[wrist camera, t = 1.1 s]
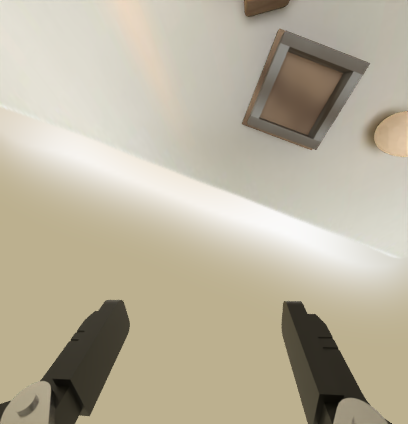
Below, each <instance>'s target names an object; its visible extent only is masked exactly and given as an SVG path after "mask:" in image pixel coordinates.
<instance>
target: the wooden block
mask: <svg viewBox="0 0 408 424" xmlns="http://www.w3.org/2000/svg"><path fill="white" fill-rule="evenodd" d="M289 1H290V0H244V8H245V14H246V16H252V15H256V14H259V13H263V12H267V11H270V10H274V9H278V8H281V7H285V6H286V5H287V4H288V3H289Z"/></svg>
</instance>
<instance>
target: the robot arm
mask: <svg viewBox="0 0 408 424" xmlns="http://www.w3.org/2000/svg"><path fill="white" fill-rule="evenodd" d="M129 327H130V323H129V318H128V315H127V311H126V309H125V305H124V302H123V301H122V300H107V301H105V302H104V304H103V305H102V306H101V308H100V310H99V311H95V312H94V313H93V314H91V315H90V316H89V317H88V318H87V319H86V320H85V321H84V322H83V323H82V325H81V326H80V327H79V329H78V330H77V333H75V334H74V336H73V337H72V339H71V341H70V342H69V343H68V344H67V345H66V347H65V348H64V350H63V351H62V352H61V353H60V355H59V356H58V358H57V359H56V361H55V362H54V363H53V364H52V366H51V367H50V369H49V370H48V371H47V373H46V374H45V376H44V377H43V378H42V379H41V380H40V382H36V383H33V384H31V385H29V386H28V387H26V388H25V389H23V390H22V391H21V392H20V393H18V394H17V395H16V396H15V397H14V398H13V400H12V401H8V402H5V403H3V404H0V424H75V422H76V420H77V418H78V416H79V415H82V416H90V414H91V412H92V410H93V408H94V406H95V403H96V401H97V399H98V397H99V395H100V393H101V390H102V388H103V386H104V384H105V382H106V380H107V377H108V375H109V373H110V371H111V369H112V367H113V365H114V363H115V361H116V358H117V356H118V354H119V352H120V350H121V348H122V345H123V343H124V341H125V339H126V337H127V335H128V332H129ZM282 334H283V339H284V342H285V346H286V349H287V353H288V356H289V359H290V363H291V366H292V370H293V373H294V377H295V380H296V384H297V387H298V391H299V394H300V398H301V401H302V405H303V408H304V412H305V415H306V418H307V422H308V424H392V423H390V422H389V421H387V420H386V419H384V418H383V417H382V416H381V414H380V413H379V412H378V411H376V410H375V409H374V408H373V407H372V406H371V405H370V404H369V403H368V402H367V401H366V399H365V397H364V396H363V394H362V392H361V390H360V388H359V386H358V385H357V383H356V381H355V379H354V377H353V375H352V373H351V372H350V369H349V368H348V366H347V364H346V362H345V360H344V358H343V356H342V354H341V352H340V351H339V350H338V347H337V345H336V343H335V341H334V340H333V338H332V335H331V333H330V331H329V330H328V328H327V326H326V324H325V323H324V322H323V321H322V320H321V319H320V318H319V317H318V316H317V315H316V314H307V312H306V310H305V308H304V305H303V304H302V302H301V301H297V302H296V301H291V302H290V301H284V303H283V313H282Z"/></svg>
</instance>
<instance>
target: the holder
mask: <svg viewBox="0 0 408 424" xmlns="http://www.w3.org/2000/svg"><path fill="white" fill-rule="evenodd" d="M369 64H370V63H368V62H366V61H363V60H360V59H358V58H355V57H353V56H350V55H348V54H345V53H342V52H340V51H337V50H335V49H332V48H329V47H327V46H324V45H322V44H319V43H317V42H314V41H311V40H309V39H306V38H304V37H301V36H299V35H296V34H293V33H291V32H288V31H284V30H282V29H279V30H278V32H277V35H276V38H275V40H274V43H273V45H272V48H271V50H270V53H269V56H268V58H267V61H266V63H265V66H264V68H263V71H262V74H261V76H260V79H259V81H258V84H257V86H256V89H255V92H254V94H253V97H252V99H251V102H250V104H249V107H248V109H247V112H246V115H245V117H244V120H243V122H242V124H243V125H246V126H248V127H251V128H254V129H256V130H259V131H262V132H264V133H267V134H270V135H272V136H275V137H278V138H280V139H283V140H286V141H288V142H291V143H294V144H297V145H299V146H302V147H305V148H307V149H310V150H312V149H315V150H316V149H317V148H318V146H319V145H320V143H321V141H322V140H323V138H324V137H325V135H326V133H327V132H328V130H329V128H330V127H331V125H332V124H333V122H334V120H335V119H336V117H337V116H338V114H339V112H340V111H341V109H342V108H343V106H344V104H345V103H346V101H347V100H348V98H349V96H350V95H351V93H352V92H353V90H354V88H355V87H356V85H357V84H358V82H359V80H360V79H361V77H362V76H363V74H364V72H365V71H366V69H367V68H368V66H369Z"/></svg>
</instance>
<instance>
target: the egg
mask: <svg viewBox="0 0 408 424" xmlns="http://www.w3.org/2000/svg"><path fill="white" fill-rule="evenodd" d="M374 140H375V143H376V145H377V146H378V148H379V149H380V150H382V151H383V152H385V153H387V154H390V155H394V156H400V157H408V111H404V112H399V113H396V114H393V115H391V116H389V117H388V118H386V119H385V120H383V121H382V122H381V123H380V124H379V125H378V127H377V128H376V131H375V134H374Z"/></svg>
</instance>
